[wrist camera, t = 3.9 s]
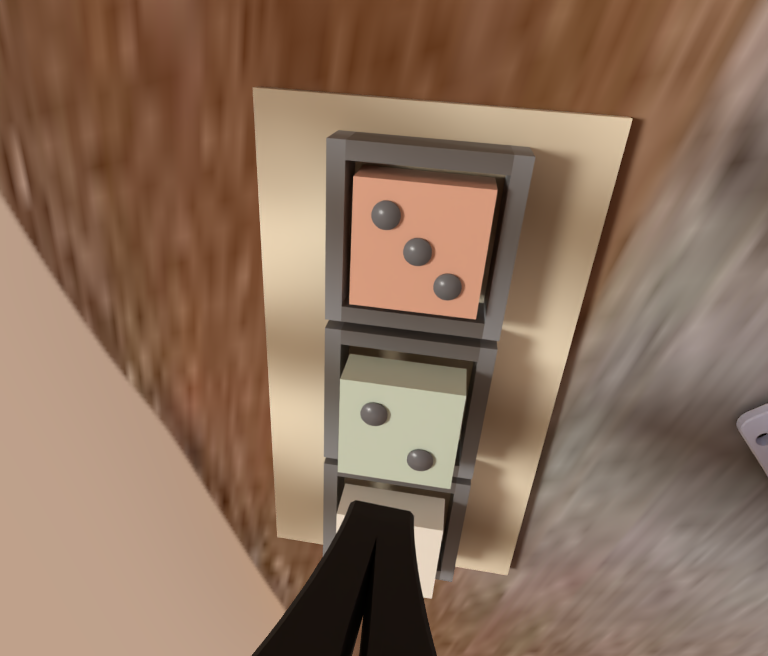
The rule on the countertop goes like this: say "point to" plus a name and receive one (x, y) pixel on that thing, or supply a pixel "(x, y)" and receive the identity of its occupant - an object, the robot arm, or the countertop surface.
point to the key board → (421, 330)
